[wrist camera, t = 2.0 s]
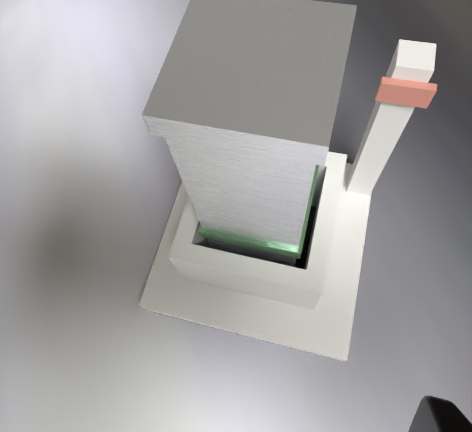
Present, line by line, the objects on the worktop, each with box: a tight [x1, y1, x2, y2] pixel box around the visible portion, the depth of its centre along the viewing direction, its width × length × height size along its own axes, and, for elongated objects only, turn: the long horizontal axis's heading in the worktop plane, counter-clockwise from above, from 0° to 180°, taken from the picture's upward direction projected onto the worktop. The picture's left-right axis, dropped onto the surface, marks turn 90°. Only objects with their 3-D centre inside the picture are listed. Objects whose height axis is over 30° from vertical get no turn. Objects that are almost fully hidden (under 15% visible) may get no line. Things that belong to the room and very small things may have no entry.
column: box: [142, 0, 357, 267], centre depth 16 cm, size 4×4×13 cm
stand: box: [138, 39, 437, 362], centre depth 17 cm, size 10×11×10 cm
